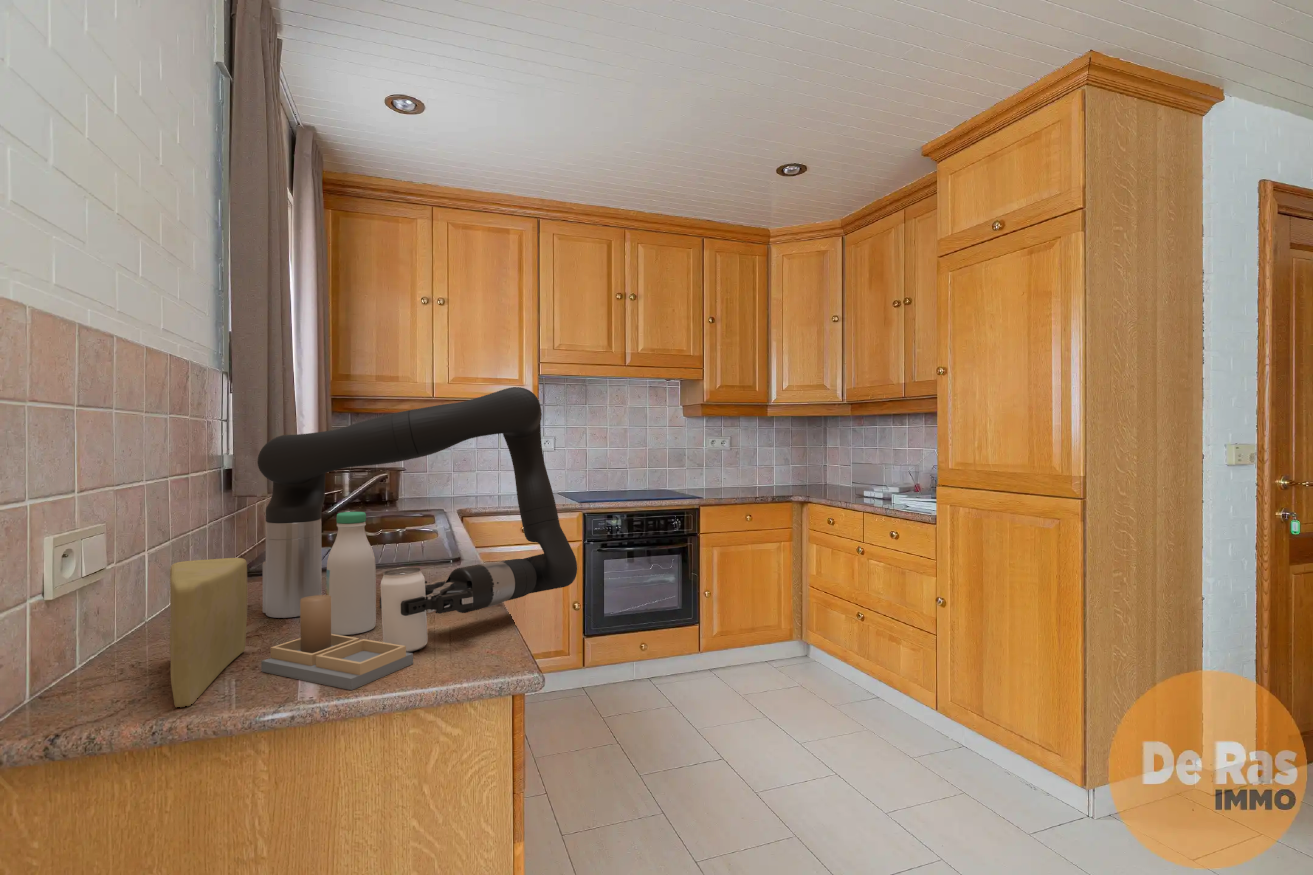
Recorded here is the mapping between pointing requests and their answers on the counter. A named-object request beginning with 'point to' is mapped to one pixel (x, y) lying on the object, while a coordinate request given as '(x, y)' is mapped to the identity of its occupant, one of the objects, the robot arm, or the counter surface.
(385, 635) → the can
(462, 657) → the counter surface
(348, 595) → the milk bottle
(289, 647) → the socket board
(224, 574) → the cheese
